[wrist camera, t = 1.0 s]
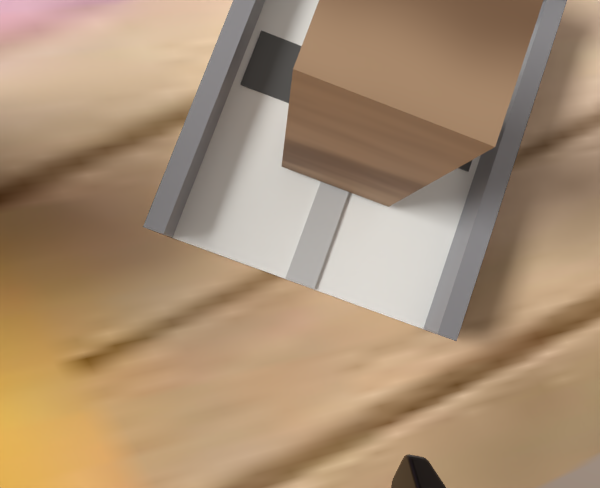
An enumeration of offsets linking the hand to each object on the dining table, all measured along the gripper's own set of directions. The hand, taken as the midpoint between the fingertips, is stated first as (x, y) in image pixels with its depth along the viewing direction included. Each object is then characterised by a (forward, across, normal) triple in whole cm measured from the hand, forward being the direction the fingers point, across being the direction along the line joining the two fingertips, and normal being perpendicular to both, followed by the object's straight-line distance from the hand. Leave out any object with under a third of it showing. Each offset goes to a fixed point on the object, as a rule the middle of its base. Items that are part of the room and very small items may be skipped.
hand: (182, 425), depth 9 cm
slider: (+17, -4, -2) cm, 18 cm away
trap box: (+20, -4, -3) cm, 20 cm away
